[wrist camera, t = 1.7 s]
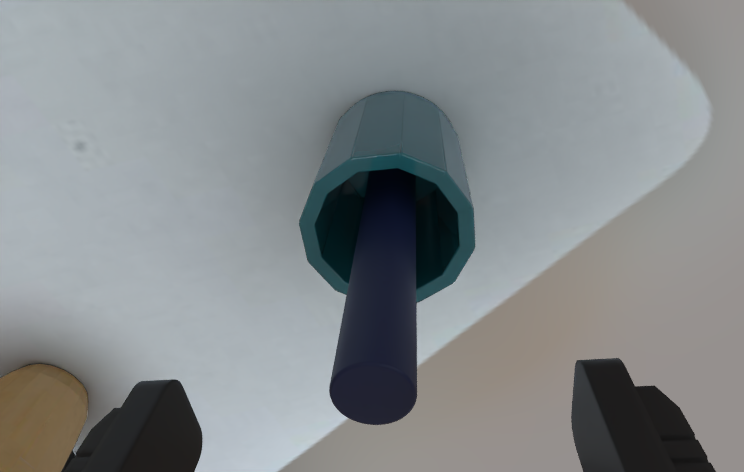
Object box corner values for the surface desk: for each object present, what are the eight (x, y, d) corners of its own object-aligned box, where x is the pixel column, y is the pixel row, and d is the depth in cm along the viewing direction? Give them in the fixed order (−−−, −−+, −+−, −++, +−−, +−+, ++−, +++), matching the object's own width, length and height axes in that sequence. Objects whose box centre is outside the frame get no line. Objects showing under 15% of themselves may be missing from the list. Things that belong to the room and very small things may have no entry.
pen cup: (305, 141, 22) (265, 218, 16) (408, 62, 20) (406, 117, 14) (382, 230, 24) (371, 329, 18) (482, 166, 22) (508, 253, 16)
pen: (363, 153, 22) (310, 387, 11) (398, 129, 21) (381, 350, 10) (389, 185, 22) (365, 437, 11) (423, 162, 22) (434, 404, 11)
